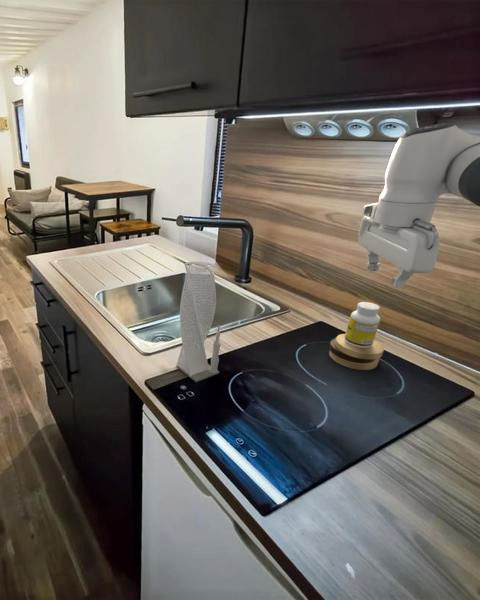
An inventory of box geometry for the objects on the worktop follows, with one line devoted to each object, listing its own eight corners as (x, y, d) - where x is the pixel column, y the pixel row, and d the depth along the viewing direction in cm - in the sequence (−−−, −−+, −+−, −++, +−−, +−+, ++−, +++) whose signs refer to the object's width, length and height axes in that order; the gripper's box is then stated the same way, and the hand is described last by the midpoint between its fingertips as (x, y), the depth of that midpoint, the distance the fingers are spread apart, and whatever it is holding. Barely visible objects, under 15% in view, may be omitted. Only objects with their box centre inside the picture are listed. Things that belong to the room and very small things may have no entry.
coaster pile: (364, 348, 91) (369, 332, 90) (387, 371, 83) (393, 354, 81) (321, 346, 93) (325, 331, 91) (339, 369, 84) (343, 352, 83)
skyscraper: (191, 384, 83) (201, 268, 71) (168, 366, 89) (174, 257, 78) (219, 373, 86) (233, 260, 74) (195, 356, 92) (205, 250, 81)
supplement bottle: (346, 334, 89) (357, 298, 85) (374, 341, 86) (386, 304, 82) (341, 343, 86) (351, 306, 82) (369, 351, 83) (381, 313, 78)
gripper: (460, 226, 63) (434, 297, 69) (390, 204, 82) (374, 262, 87) (419, 227, 64) (396, 297, 70) (359, 205, 83) (345, 262, 88)
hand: (383, 277), depth 79 cm, fingers open, 8 cm apart
